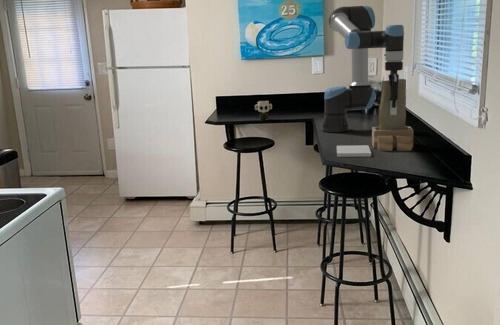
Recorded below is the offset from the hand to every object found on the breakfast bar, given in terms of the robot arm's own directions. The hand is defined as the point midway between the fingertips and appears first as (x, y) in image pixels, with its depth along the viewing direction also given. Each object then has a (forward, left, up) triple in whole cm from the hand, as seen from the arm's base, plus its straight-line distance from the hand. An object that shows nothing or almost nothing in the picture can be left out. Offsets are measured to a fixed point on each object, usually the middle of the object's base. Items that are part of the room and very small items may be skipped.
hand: (392, 114), depth 215 cm
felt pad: (+14, -18, -15) cm, 27 cm away
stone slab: (0, 0, -15) cm, 15 cm away
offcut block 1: (+9, -4, -15) cm, 17 cm away
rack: (0, 0, -15) cm, 15 cm away
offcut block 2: (+9, +4, -15) cm, 17 cm away
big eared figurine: (-80, -70, -15) cm, 107 cm away
